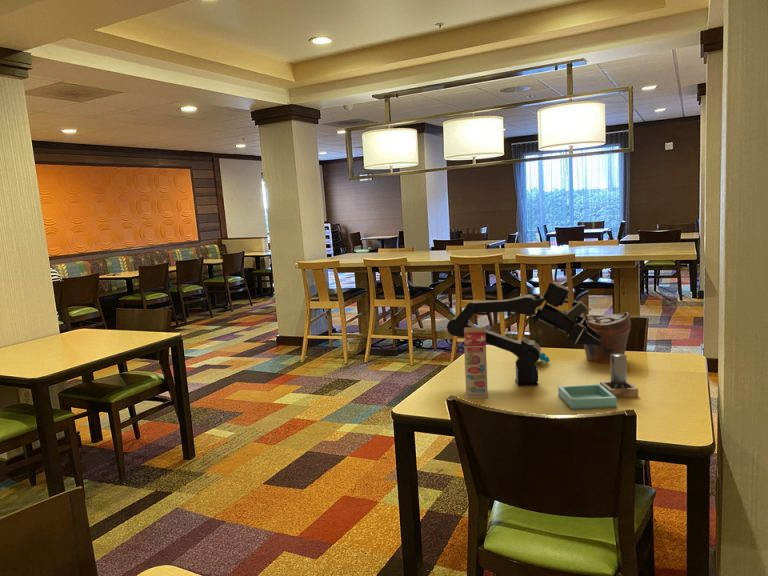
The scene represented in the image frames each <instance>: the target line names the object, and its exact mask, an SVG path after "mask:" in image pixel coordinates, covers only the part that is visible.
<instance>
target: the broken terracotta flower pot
mask: <svg viewBox="0 0 768 576" xmlns="http://www.w3.org/2000/svg"><path fill="white" fill-rule="evenodd" d="M581 315H582V316H584V319H586V322H587V325H588V326H590V327H591V328H592V329H593V330H594V331H596V332H597V333H598V334H599V335H601V338H600V339H598V340H599V341H600V342H602V344H601V345H600V346H598V345H586V344H583V348H584V353H585V357H586V359H587V360H588V361H590V362H594V363H600V364H611V354H625V355H626V348H627V343H628V339H629V335H630V330H631V325H632V322H631V316H630V313H629V312H627V311H623V312H619V313H614V314H613V313H612V314H607V315H601V316H599V315H592V314H589V313H588V314H581ZM584 319H582V322H583V320H584Z"/></svg>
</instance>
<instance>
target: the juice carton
mask: <svg viewBox="0 0 768 576" xmlns="http://www.w3.org/2000/svg"><path fill="white" fill-rule="evenodd" d="M485 329H486V327H485V326H484V327H483V326H482V327H480V326H477V327H466V328H464V337H463V347H464V348H463V351H464V369H465V370H464V375H465V398H466V399H488V393H489V392H488V369H487V368H488V365H487V364H488V363H487V343H486V333H485Z"/></svg>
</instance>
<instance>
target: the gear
mask: <svg viewBox="0 0 768 576" xmlns="http://www.w3.org/2000/svg"><path fill="white" fill-rule="evenodd" d="M546 355H547V354H546V353H545V352H541V354H540V358H539V361H542V362H543V361H544V363H550V361H551V360H550V358H549V356H546Z"/></svg>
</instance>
